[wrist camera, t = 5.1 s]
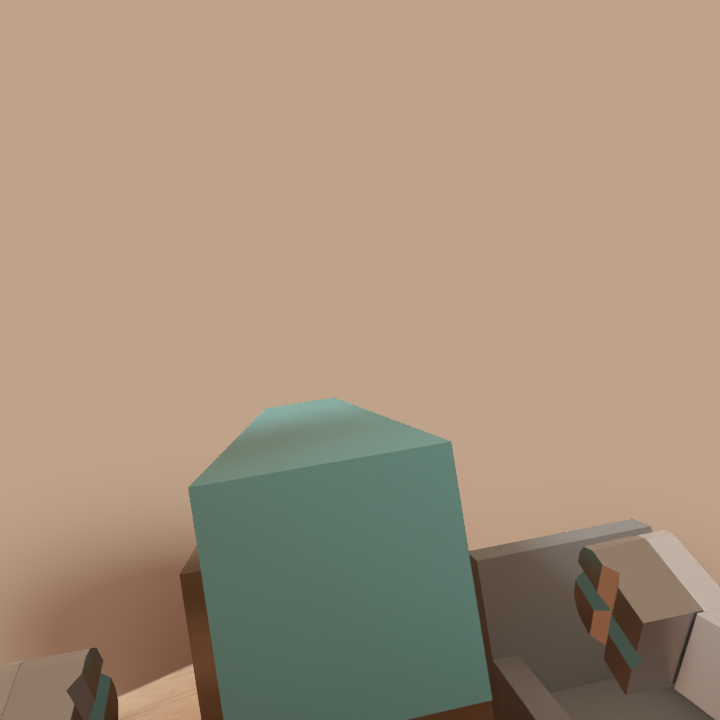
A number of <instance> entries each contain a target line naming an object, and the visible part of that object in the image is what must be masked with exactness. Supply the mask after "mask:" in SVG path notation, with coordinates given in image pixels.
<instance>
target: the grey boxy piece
mask: <svg viewBox="0 0 720 720" xmlns="http://www.w3.org/2000/svg"><path fill="white" fill-rule="evenodd" d="M647 533H652V531H651V527H650V526H649V525H647V524H644V523H641V522H639V521H637V520H634V519H630V520H625V521H620V522H615V523H610V524H605V525H600V526H594V527H590V528H584V529H579V530H574V531H569V532H564V533H559V534H554V535H549V536H544V537H539V538H534V539H529V540H524V541H518V542H513V543H508V544H503V545H499V546H494V547H488V548H484V549H478V550H473V551H469V557H470V563H471V569H472V575H473V582H474V588H475V594H476V600H477V607H478V613H479V619H480V625H481V632H482V638H483V644H484V650H485V657H486V663H487V669H488V675H489V682H490V688H491V694H492V700H491V703H492V709H493V715H494V720H715V719H714V718H712V717H711V716H710V715H708V714H707V713H706V712H704V711H703V710H702V709H700V708H699V707H698V706H696V705H695V704H694V703H693V702H691V701H690V700H689V699H687V698H686V697H685V696H683V695H682V694H681V693H679V692H678V691H677V690H675V689H674V687H675V686H670V687H665V688H660V689H656V690H651V691H646V692H641V693H636V694H631V695H627V696H626V695H625V694H624V692H623V690H622V689H621V687H620V685H619V684H618V682H617V680H616V679H615V677H614V675H613V674H612V672H611V670H610V669H609V667H608V665H607V664H606V662H605V660H604V651H605V644H603V643H601V642H600V641H598V640H597V639H595V638H593V637H592V636H590V635H589V633H588V631H587V630H586V628H585V626H584V624H583V623H582V620H581V618H580V615H579V613H578V611H577V607H576V602H575V597H574V587H575V580H576V579H577V577H578V576H579V575H580V574H581V573H582V572H583V569H582V568H581V566H580V565H579V563H578V559H579V553H580V551H581V549H582V548H583V547H584V546H588V545H593V544H598V543H602V542H607V541H611V540H616V539H620V538H625V537H629V536H638V535H642V534H647Z"/></svg>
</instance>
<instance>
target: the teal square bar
mask: <svg viewBox="0 0 720 720" xmlns="http://www.w3.org/2000/svg"><path fill="white" fill-rule="evenodd" d="M189 496H190V502H191V509H192V515H193V522H194V528H195V535H196V541H197V548H198V555H199V562H200V568H201V575H202V581H203V588H204V595H205V601H206V608H207V614H208V621H209V628H210V634H211V641H212V647H213V654H214V661H215V667H216V674H217V681H218V687H219V694H220V700H221V707H222V714H223V720H408V719H412V718H417V717H421V716H425V715H430V714H434V713H439V712H443V711H447V710H452V709H456V708H460V707H465V706H469V705H474V704H478V703H482V702H487V701H491V700H492V694H491V688H490V682H489V675H488V669H487V663H486V657H485V650H484V644H483V638H482V632H481V625H480V619H479V613H478V607H477V600H476V594H475V588H474V582H473V575H472V569H471V563H470V557H469V550H468V544H467V538H466V531H465V525H464V519H463V513H462V506H461V500H460V494H459V488H458V482H457V476H456V469H455V463H454V456H453V451H452V444H451V441H448V440H445V439H443V438H440V437H437V436H435V435H432V434H429V433H427V432H424V431H421V430H419V429H416V428H413V427H410V426H408V425H406V424H403V423H400V422H397V421H395V420H392V419H390V418H387V417H384V416H381V415H379V414H376V413H374V412H371V411H368V410H365V409H363V408H360V407H358V406H355V405H352V404H350V403H347V402H344V401H342V400H339V399H336V398H329V399H322V400H316V401H310V402H304V403H298V404H292V405H285V406H279V407H273V408H267V409H265V410H264V411H263V412H262V413H261V414H260V415H259V416H258V417H257V418H256V419H255V420H254V421H253V422H252V423H251V424H250V425H249V426H248V427H247V428H246V429H245V430H244V431H243V433H242V434H241V435H239V437H237V438H236V440H234V442H233V443H232V444H231V445H230V446H229V447H228V448H227V449H226V450H225V451H224V452H223V453H222V454H221V455H220V456H219V457H218V458H217V459H216V460H215V461H214V462H213V463H212V464H211V465H210V466H209V467H208V468H207V469H206V470H205V471H204V472H203V473H202V474H201V475H200V476H199V477H198V478H197V479H196V480H195V481H194V482H193V483H192V484H191V485H190V486H189Z"/></svg>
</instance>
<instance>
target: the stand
mask: <svg viewBox="0 0 720 720" xmlns="http://www.w3.org/2000/svg"><path fill="white" fill-rule="evenodd" d="M180 580H181V587H182V593H183V600H184V607H185V613H186V620H187V627H188V633H189V640H190V646H191V653H192V660H193V666H194V673H195V680H196V686H197V693H198V700H199V706H200V713H201V719H202V720H223V714H222V707H221V700H220V694H219V687H218V681H217V674H216V667H215V661H214V654H213V647H212V641H211V634H210V628H209V621H208V614H207V608H206V601H205V595H204V588H203V581H202V575H201V568H200V562H199V555H198V548H197V546H196V548H195V549H194V551H193V553H192V554H191V556H190V558H189V560H188V561H187V563H186V565H185V566H184V568H183V570H182V572H181V573H180ZM408 720H494V715H493V709H492V703H491V701H487V702H482V703H478V704H474V705H469V706H465V707H460V708H456V709H452V710H447V711H443V712H439V713H434V714H430V715H425V716H421V717H417V718H412V719H408Z"/></svg>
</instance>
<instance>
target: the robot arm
mask: <svg viewBox="0 0 720 720" xmlns="http://www.w3.org/2000/svg"><path fill="white" fill-rule="evenodd" d="M578 563H579V565H580V566H581V568H582V569H583V572H582V573H581V574H580V575H579V576H578V577H577V579H576V580H575V587H574V597H575V602H576V607H577V611H578V613H579V615H580V618H581V620H582V623H583V624H584V626H585V628H586V630H587V631H588V633H589V635H590V636H592V637H593V638H595V639H597V640H598V641H600V642H601V643H603V644H605V651H604V660H605V662H606V664H607V665H608V667H609V669H610V670H611V672H612V674H613V675H614V677H615V679H616V680H617V682H618V684H619V685H620V687H621V689H622V690H623V692H624V694H625V695H626V696H627V695H631V694H636V693H641V692H646V691H651V690H656V689H660V688H665V687H670V686H675V687H674V689H675V690H677V691H678V692H679V693H681V694H682V695H683V696H685V697H686V698H687V699H689V700H690V701H691V702H693V703H694V704H695V705H696V706H698V707H699V708H700V709H702V710H703V711H704V712H706V713H707V714H708V715H710V716H711V717H712V718H714V719H715V720H720V587H719V586H718V584H717V583H716V582H715V581H714V580H713V579H712V578H711V577H710V576H709V574H708V573H707V572H706V571H705V570H704V569H703V568H702V567H701V565H700V564H699V563H698V562H697V561H696V560H695V559H694V557H693V556H692V555H691V554H690V553H689V552H688V551H687V550H686V548H685V547H684V546H683V545H682V544H681V543H680V542H679V541H678V539H677V538H676V537H675V536H674V535H673V534H672V533H670V532H668V531H666V530H662V531H656V532H652V533H647V534H642V535H638V536H629V537H625V538H620V539H616V540H611V541H607V542H602V543H598V544H593V545H588V546H584V547H583V548H582V549H581V551H580V553H579V559H578ZM102 664H103V659H102V658H101V656H100V654H99V652H98V650H97V648H91V649H85V650H80V651H74V652H68V653H63V654H57V655H52V656H46V657H41V658H35V659H29V660H24V661H19V662H14V663H9V664H3V665H0V720H118V698H117V693H116V688H115V686H114V684H113V682H112V679H111V678H110V677H108V676H106V675H104V674H102V673H101V669H102Z"/></svg>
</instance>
